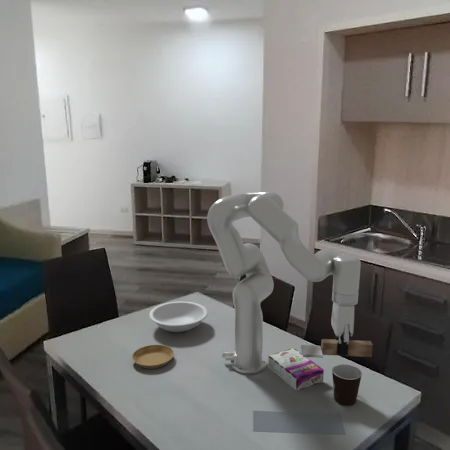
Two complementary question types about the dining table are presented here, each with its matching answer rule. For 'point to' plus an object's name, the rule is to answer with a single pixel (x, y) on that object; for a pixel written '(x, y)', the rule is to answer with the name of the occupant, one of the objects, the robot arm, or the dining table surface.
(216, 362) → the dining table surface
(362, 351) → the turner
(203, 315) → the soup bowl
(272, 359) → the candy bar box
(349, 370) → the coffee mug
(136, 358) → the plant saucer
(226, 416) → the dining table surface
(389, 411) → the dining table surface
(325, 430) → the mat
